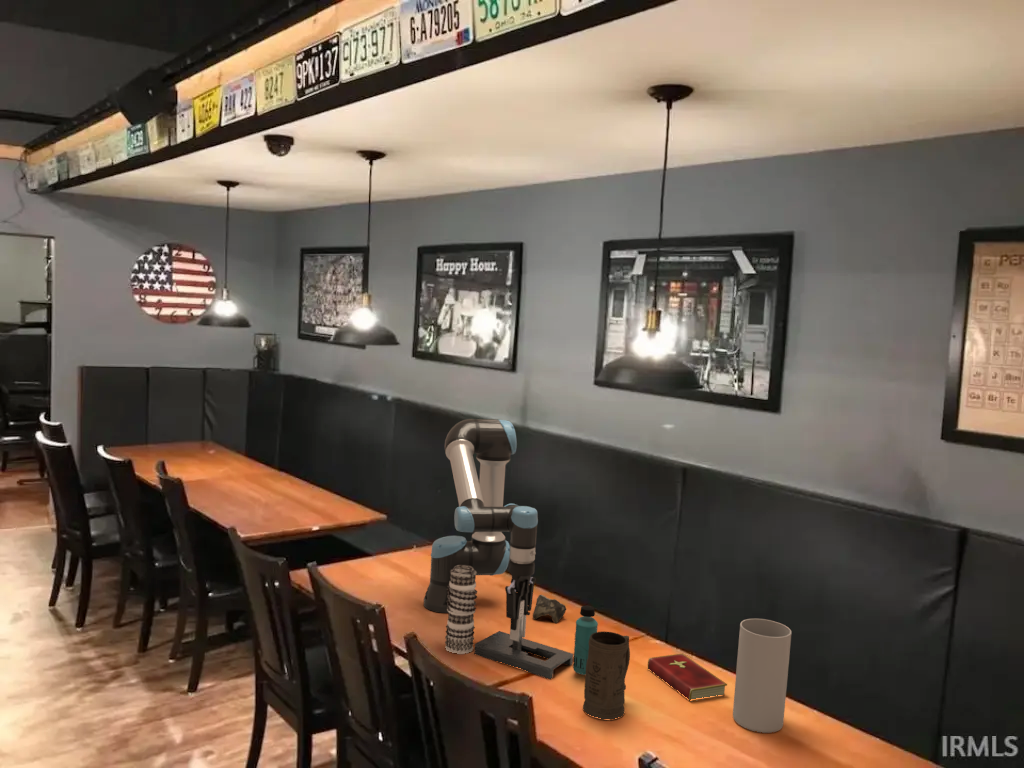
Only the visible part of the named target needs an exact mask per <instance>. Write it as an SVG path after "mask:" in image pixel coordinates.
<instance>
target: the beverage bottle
mask: <svg viewBox="0 0 1024 768" xmlns="http://www.w3.org/2000/svg"><path fill="white" fill-rule="evenodd" d="M580 607H581V608H580V612H579V614H580V616H581V617H579V618H577V620H576V621H575V633H574V648H573V649H574V650H573V651H574V652H573V664H572V669H573V672H575V673H576V674H578V675H583V676H586V664H587V659H588V651H589V640H590V636H591V634H593V633H595V632H598V626H599V622H598V621H597V620H596V619H595V618H594V617H595V615H596V614H595V613H596V612H595V609H596V608H595V607H594V606H593V605H587V604H586V605H582V606H580Z"/></svg>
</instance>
